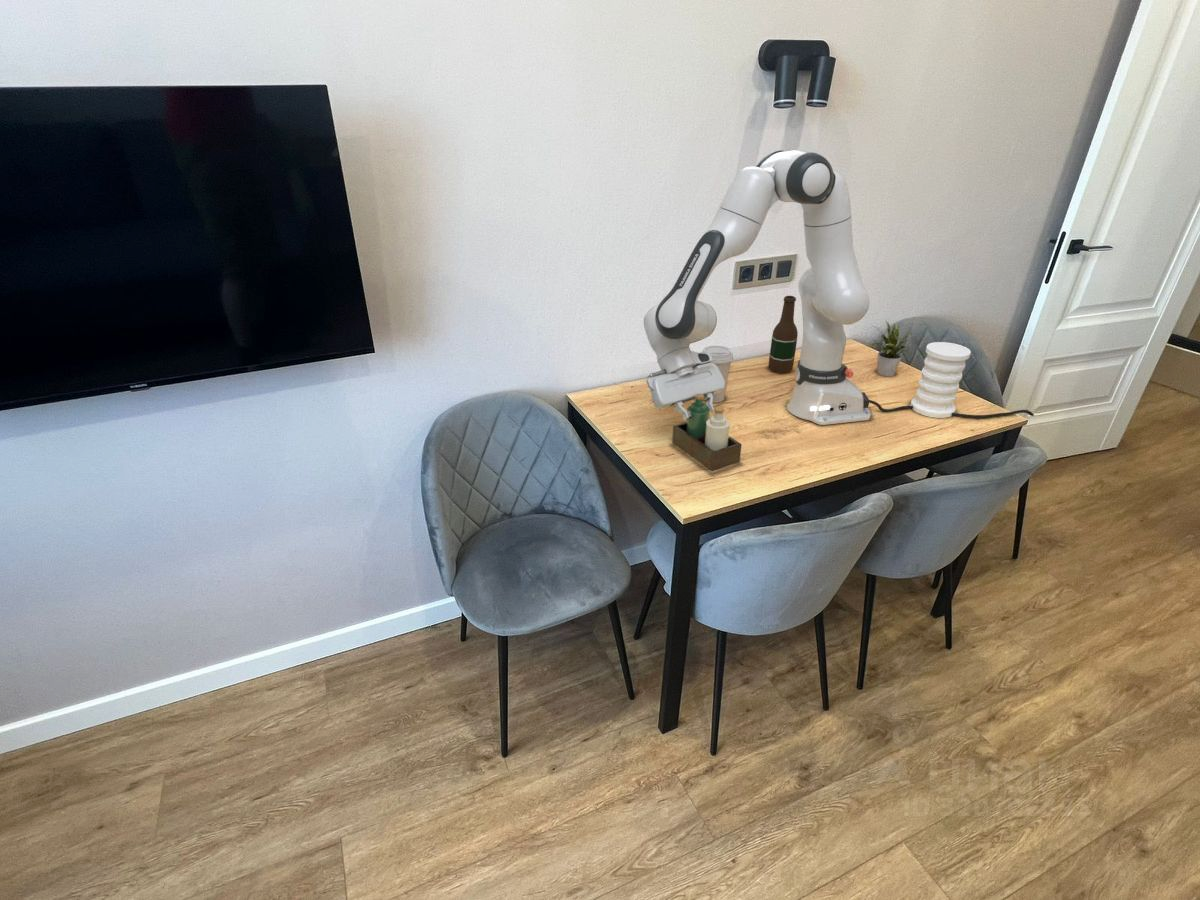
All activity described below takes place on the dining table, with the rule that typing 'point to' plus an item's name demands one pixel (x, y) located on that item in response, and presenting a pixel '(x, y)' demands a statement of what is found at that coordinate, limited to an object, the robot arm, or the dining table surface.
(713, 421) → the cream bottle
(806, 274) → the robot arm
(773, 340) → the beer bottle
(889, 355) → the house plant
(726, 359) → the coffee cup
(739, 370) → the dining table surface
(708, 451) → the caddy
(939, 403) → the decorative container
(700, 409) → the green bottle
